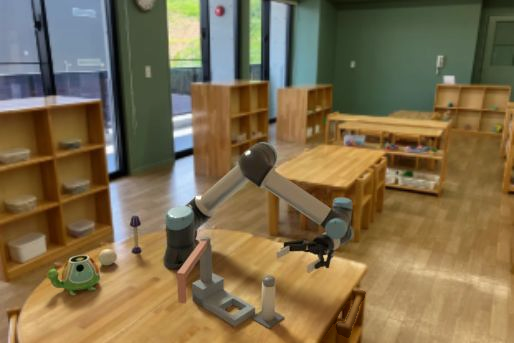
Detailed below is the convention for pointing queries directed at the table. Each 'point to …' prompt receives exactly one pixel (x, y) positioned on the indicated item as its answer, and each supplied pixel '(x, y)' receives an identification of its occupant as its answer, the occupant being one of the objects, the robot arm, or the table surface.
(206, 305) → the dock
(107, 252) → the cream oval egg shape
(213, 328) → the table surface
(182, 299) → the pink bent bar
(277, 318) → the mat
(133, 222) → the toy lamp
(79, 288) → the turtle holder
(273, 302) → the bottle
